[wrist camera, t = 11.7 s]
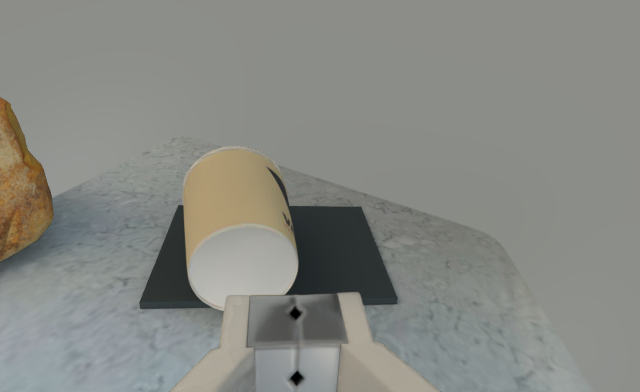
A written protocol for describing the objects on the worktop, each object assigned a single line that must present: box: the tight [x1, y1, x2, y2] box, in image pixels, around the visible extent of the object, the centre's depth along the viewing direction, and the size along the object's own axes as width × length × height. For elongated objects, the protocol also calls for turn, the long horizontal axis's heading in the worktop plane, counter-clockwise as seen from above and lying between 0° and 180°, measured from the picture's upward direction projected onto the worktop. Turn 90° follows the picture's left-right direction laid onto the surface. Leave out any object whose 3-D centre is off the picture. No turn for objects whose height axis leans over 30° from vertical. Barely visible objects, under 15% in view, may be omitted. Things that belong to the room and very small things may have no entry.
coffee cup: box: [182, 146, 298, 311], centre depth 36 cm, size 9×9×12 cm
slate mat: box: [139, 205, 397, 308], centre depth 42 cm, size 20×16×1 cm
